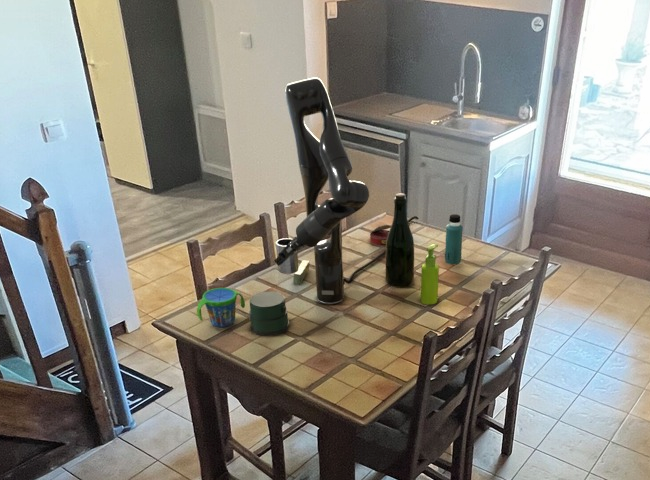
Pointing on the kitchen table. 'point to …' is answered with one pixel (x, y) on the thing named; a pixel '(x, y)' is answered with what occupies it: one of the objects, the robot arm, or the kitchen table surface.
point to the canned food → (379, 235)
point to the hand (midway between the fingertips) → (282, 258)
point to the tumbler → (291, 262)
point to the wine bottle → (400, 247)
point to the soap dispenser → (429, 278)
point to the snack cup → (220, 306)
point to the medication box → (301, 272)
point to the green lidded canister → (268, 314)
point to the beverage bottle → (453, 240)
